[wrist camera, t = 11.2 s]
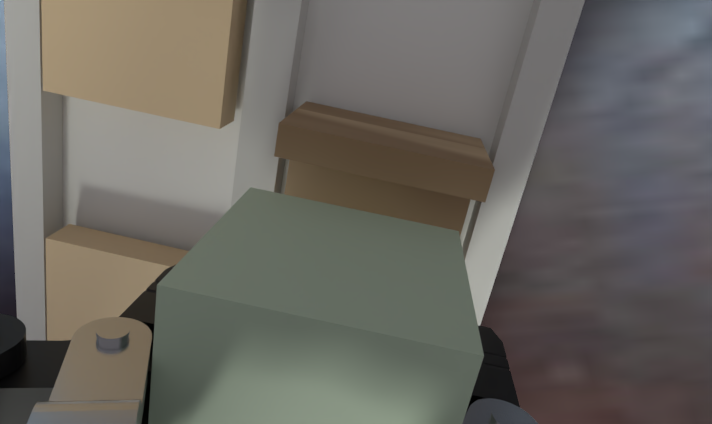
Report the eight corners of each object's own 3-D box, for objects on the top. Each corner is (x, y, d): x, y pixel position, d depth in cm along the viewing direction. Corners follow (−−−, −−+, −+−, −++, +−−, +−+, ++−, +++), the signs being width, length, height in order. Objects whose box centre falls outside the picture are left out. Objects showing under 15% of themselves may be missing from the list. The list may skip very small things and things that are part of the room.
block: (412, 401, 14) (410, 585, 10) (228, 361, 15) (141, 523, 10) (458, 230, 13) (483, 355, 8) (250, 187, 13) (156, 285, 8)
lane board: (401, 536, 23) (399, 597, 20) (53, 451, 23) (12, 501, 21) (622, -172, 14) (664, -210, 11) (43, -283, 14) (-31, -340, 12)
